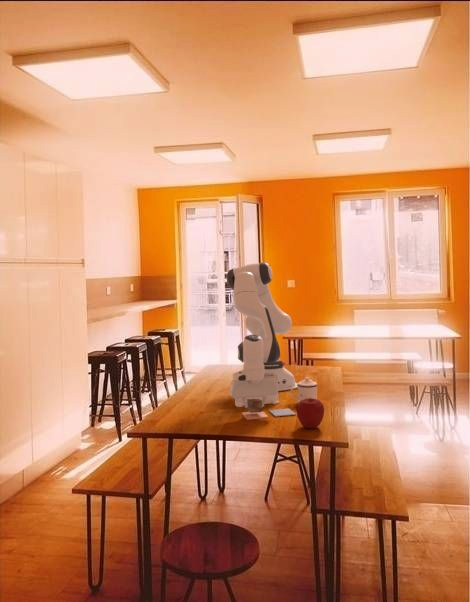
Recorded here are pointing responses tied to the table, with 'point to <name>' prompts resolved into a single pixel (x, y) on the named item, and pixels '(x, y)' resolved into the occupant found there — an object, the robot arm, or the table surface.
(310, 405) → the apple
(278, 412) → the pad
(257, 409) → the cube with pink top
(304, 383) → the teacup with lid
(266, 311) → the robot arm
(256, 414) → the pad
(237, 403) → the screen
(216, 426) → the table surface
